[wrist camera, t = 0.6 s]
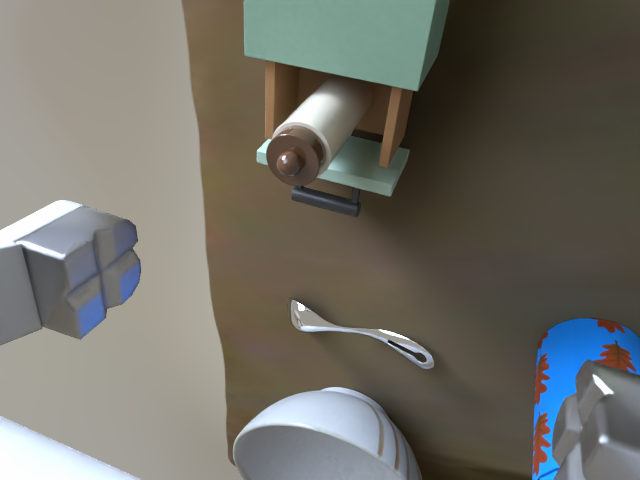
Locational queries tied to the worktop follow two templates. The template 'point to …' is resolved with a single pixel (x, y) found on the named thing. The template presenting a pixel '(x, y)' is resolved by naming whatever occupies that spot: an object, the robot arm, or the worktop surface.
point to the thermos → (573, 374)
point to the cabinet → (349, 37)
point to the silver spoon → (313, 323)
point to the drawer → (357, 154)
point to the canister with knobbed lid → (318, 129)
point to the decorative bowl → (324, 440)
